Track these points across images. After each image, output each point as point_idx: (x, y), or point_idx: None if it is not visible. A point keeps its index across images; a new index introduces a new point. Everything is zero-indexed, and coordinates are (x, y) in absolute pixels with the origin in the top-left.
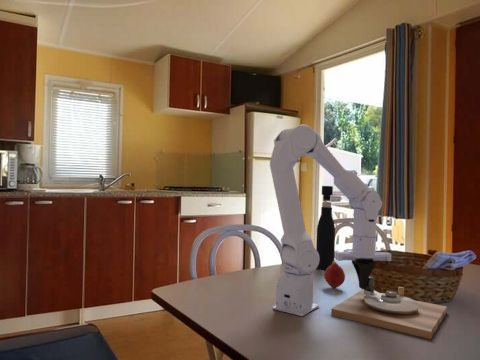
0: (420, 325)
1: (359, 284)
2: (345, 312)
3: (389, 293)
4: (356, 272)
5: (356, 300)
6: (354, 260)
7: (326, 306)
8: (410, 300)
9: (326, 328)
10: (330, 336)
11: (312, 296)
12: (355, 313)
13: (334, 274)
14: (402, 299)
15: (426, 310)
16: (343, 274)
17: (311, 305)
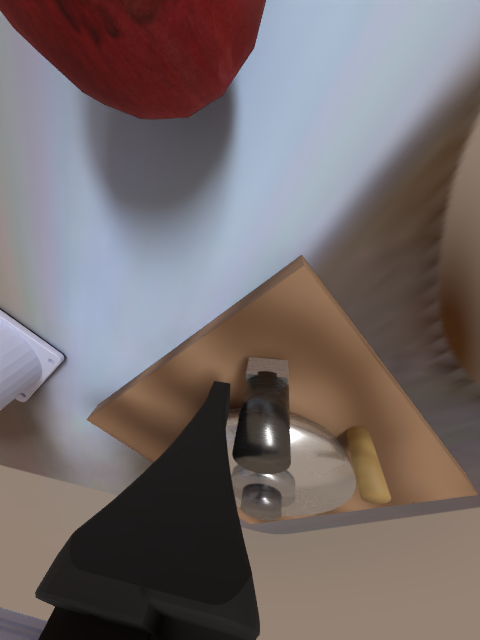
0: None
1: (209, 394)
2: (120, 439)
3: (245, 513)
4: (165, 452)
5: (184, 390)
6: (62, 610)
7: (91, 352)
8: (333, 495)
9: (82, 443)
10: (87, 461)
11: (8, 401)
12: (142, 451)
13: (75, 85)
14: (313, 485)
15: (357, 489)
16: (205, 58)
17: (32, 383)
